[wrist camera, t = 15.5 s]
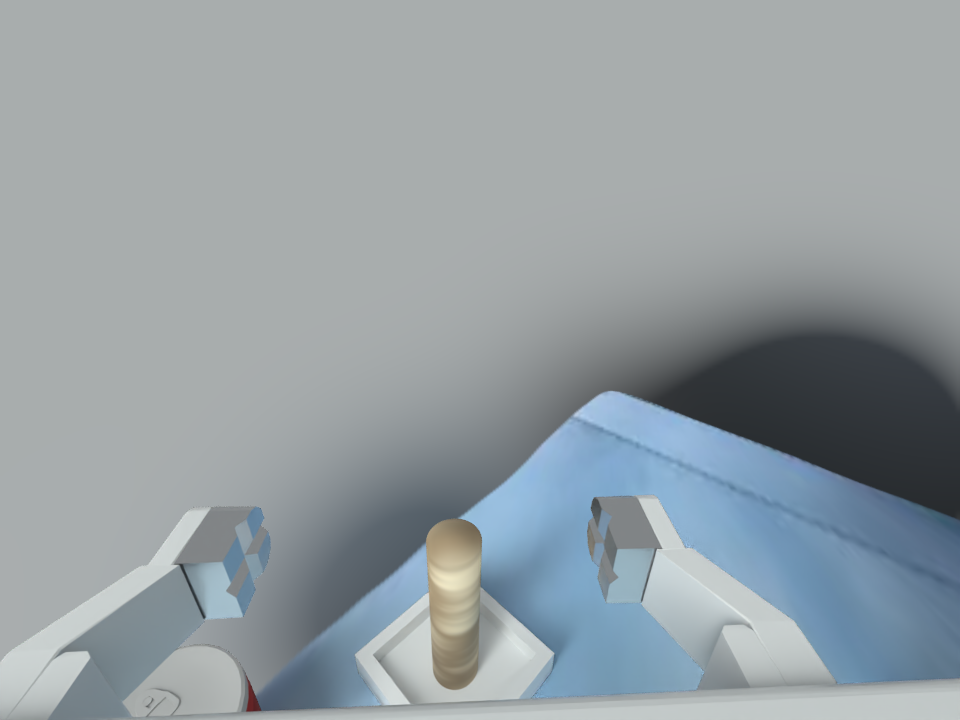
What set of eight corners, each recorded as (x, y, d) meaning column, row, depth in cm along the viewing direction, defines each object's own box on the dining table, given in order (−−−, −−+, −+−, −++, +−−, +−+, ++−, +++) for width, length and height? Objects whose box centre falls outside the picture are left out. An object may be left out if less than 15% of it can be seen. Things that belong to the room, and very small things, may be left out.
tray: (551, 671, 35) (554, 653, 34) (450, 803, 28) (449, 785, 27) (458, 584, 42) (458, 566, 41) (358, 672, 35) (354, 654, 34)
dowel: (487, 664, 35) (493, 540, 29) (454, 701, 33) (452, 574, 26) (456, 632, 37) (455, 510, 31) (423, 664, 35) (414, 540, 28)
